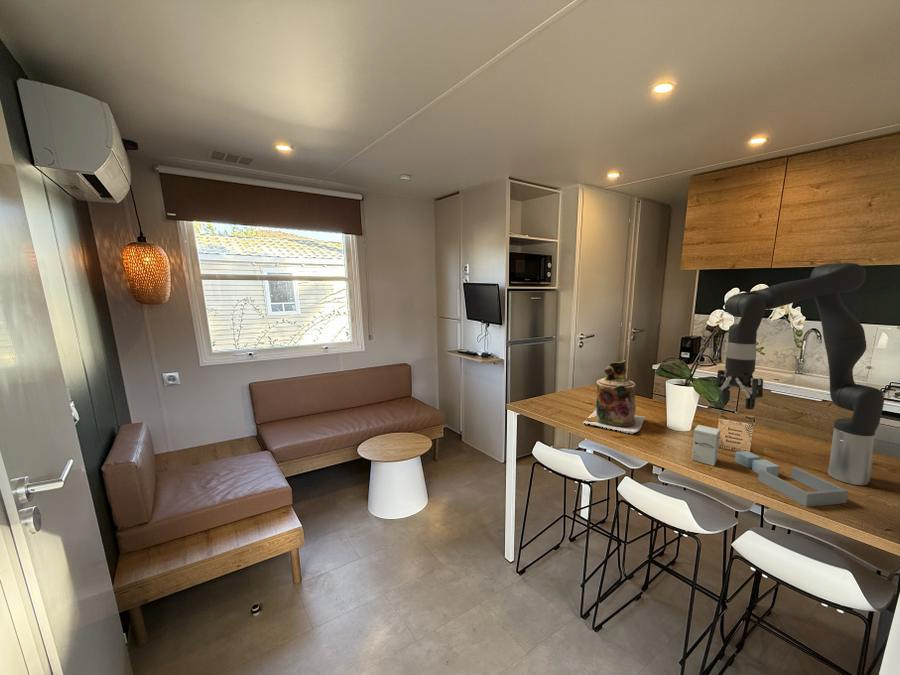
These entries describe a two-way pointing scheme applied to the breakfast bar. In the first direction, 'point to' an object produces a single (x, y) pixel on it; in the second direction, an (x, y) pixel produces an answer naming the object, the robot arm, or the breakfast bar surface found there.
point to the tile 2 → (765, 467)
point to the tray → (822, 496)
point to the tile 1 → (746, 458)
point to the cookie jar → (616, 401)
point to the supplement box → (705, 444)
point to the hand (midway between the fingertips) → (736, 404)
